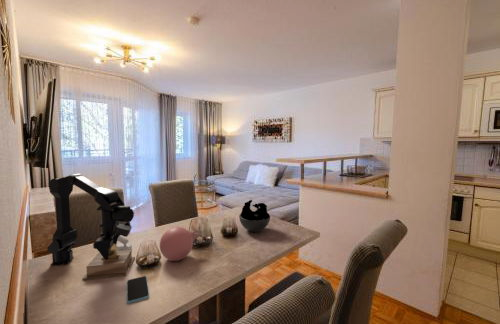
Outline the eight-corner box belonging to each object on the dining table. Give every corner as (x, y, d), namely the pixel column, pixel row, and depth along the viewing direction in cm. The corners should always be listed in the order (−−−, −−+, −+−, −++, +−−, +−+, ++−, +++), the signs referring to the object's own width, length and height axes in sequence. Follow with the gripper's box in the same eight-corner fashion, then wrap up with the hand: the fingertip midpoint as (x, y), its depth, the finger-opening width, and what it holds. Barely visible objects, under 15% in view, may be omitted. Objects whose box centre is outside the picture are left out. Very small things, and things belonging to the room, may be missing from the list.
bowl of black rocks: (271, 237, 138) (271, 207, 136) (238, 236, 138) (238, 206, 137) (268, 225, 158) (269, 198, 156) (239, 224, 158) (240, 198, 156)
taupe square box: (125, 275, 96) (125, 264, 96) (82, 280, 93) (81, 268, 92) (134, 258, 111) (134, 248, 110) (97, 261, 107) (97, 251, 107)
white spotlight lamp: (118, 228, 123) (134, 230, 121) (119, 245, 124) (135, 247, 122) (105, 234, 115) (122, 236, 113) (106, 253, 116) (123, 255, 114)
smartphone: (146, 275, 96) (149, 295, 83) (146, 278, 96) (149, 298, 83) (126, 280, 93) (126, 302, 79) (126, 282, 93) (126, 305, 80)
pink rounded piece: (206, 257, 112) (206, 227, 111) (165, 270, 100) (164, 237, 99) (194, 246, 125) (194, 218, 123) (156, 256, 113) (155, 226, 112)
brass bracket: (116, 267, 101) (115, 244, 100) (103, 268, 100) (102, 245, 99) (117, 264, 103) (117, 242, 102) (105, 266, 102) (104, 243, 101)
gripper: (122, 226, 93) (124, 263, 94) (134, 212, 111) (135, 243, 112) (91, 228, 90) (93, 266, 91) (109, 214, 108) (110, 245, 110)
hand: (110, 254), depth 101 cm, fingers open, 9 cm apart
